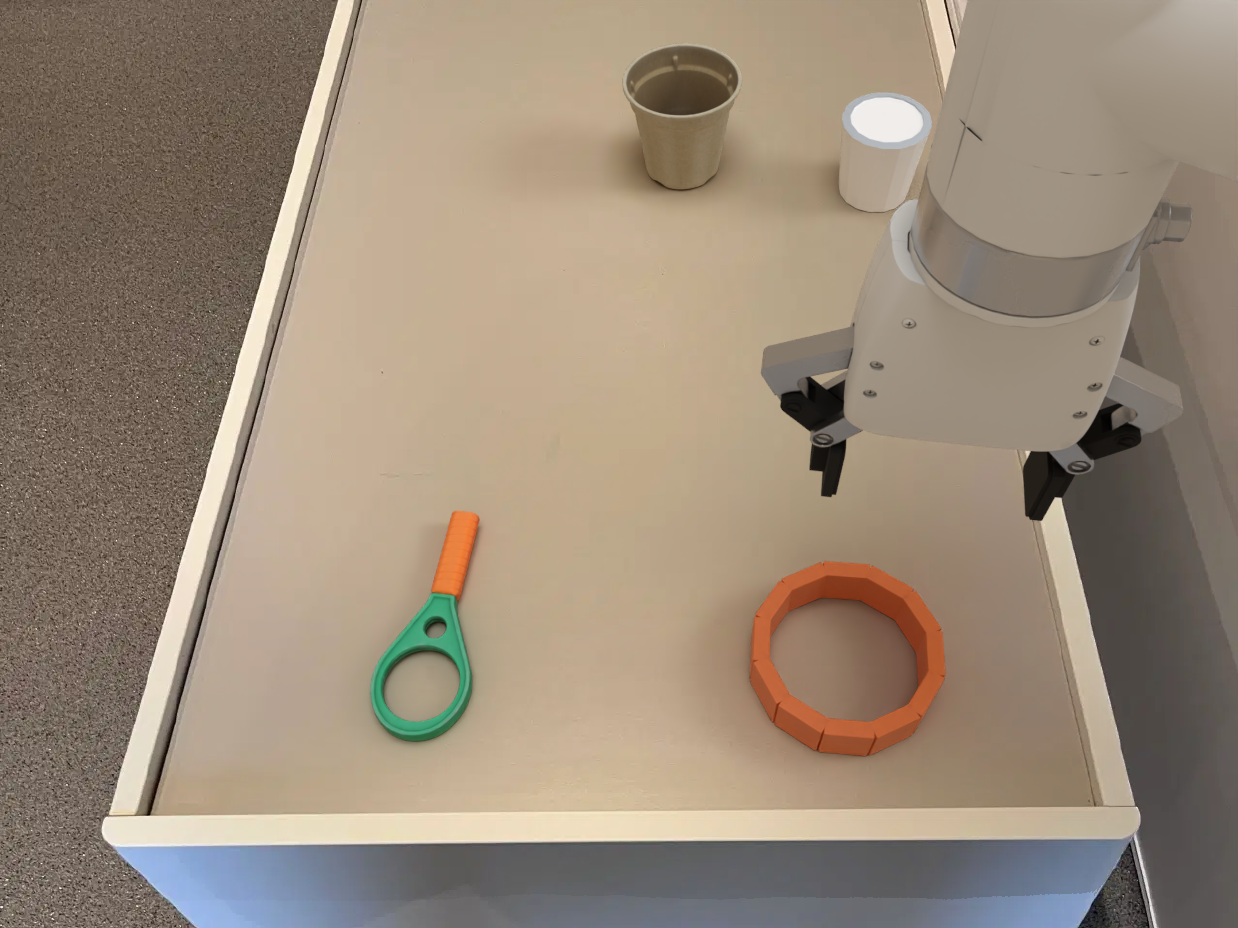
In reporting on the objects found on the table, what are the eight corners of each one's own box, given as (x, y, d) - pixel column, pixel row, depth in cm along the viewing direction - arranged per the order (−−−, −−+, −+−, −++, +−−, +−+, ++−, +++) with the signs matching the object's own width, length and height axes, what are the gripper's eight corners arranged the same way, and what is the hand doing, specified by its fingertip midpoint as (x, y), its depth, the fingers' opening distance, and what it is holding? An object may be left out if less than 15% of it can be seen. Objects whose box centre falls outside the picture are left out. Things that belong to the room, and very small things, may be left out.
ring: (928, 591, 66) (938, 568, 64) (939, 762, 60) (950, 745, 58) (753, 578, 67) (756, 555, 65) (746, 745, 61) (749, 727, 59)
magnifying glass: (458, 748, 62) (453, 739, 61) (360, 735, 63) (353, 725, 61) (512, 528, 70) (509, 515, 69) (425, 518, 71) (420, 505, 70)
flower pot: (607, 152, 91) (601, 65, 84) (702, 117, 93) (704, 29, 86) (659, 218, 86) (657, 132, 79) (758, 179, 88) (765, 92, 81)
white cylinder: (855, 151, 90) (868, 80, 84) (929, 180, 87) (947, 109, 81) (815, 197, 87) (825, 127, 81) (891, 229, 84) (907, 159, 78)
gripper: (1267, 168, 38) (1107, 440, 52) (786, 135, 40) (758, 404, 54) (1307, 323, 34) (1121, 573, 48) (769, 277, 36) (744, 528, 50)
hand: (929, 483), depth 51 cm, fingers open, 9 cm apart
